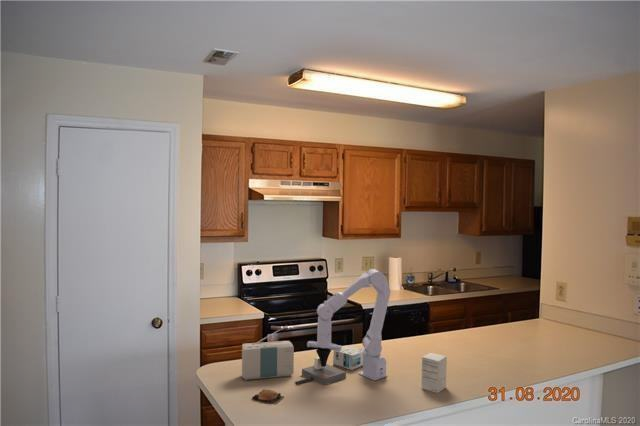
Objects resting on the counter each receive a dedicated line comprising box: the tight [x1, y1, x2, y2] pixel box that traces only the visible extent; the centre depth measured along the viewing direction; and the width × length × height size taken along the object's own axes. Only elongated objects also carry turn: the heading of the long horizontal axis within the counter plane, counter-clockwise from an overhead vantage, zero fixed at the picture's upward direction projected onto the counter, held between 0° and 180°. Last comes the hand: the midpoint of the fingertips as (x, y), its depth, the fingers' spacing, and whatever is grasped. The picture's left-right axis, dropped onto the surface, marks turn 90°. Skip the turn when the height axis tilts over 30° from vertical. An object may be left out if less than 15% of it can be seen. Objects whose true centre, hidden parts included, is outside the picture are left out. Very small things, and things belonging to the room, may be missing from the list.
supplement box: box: [421, 352, 447, 394], centre depth 191 cm, size 7×7×13 cm
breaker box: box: [301, 363, 347, 386], centre depth 202 cm, size 14×12×2 cm
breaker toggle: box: [313, 356, 324, 370], centre depth 204 cm, size 2×4×4 cm, turn 130°
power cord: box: [294, 377, 314, 386], centre depth 195 cm, size 1×8×1 cm, turn 130°
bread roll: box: [251, 389, 285, 405], centre depth 179 cm, size 11×8×4 cm
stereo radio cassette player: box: [241, 325, 295, 381], centre depth 201 cm, size 21×8×20 cm, turn 105°
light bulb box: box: [332, 345, 365, 371], centre depth 216 cm, size 11×7×11 cm
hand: (323, 365), depth 202 cm, fingers closed
